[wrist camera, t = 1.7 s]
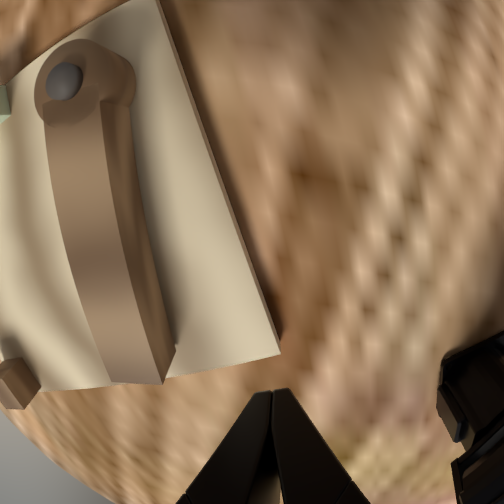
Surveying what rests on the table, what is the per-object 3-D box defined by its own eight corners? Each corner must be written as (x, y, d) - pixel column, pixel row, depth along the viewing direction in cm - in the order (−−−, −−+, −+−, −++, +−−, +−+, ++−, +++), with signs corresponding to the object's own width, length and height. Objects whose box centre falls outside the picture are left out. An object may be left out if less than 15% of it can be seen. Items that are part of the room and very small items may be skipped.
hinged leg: (66, 67, 13) (25, 56, 9) (133, 43, 12) (100, 21, 9) (122, 350, 18) (99, 388, 14) (184, 350, 17) (169, 392, 14)
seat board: (158, -2, 13) (130, -35, 9) (280, 342, 19) (282, 389, 15) (-65, 169, 16) (-99, 178, 12) (29, 384, 22) (6, 413, 18)
